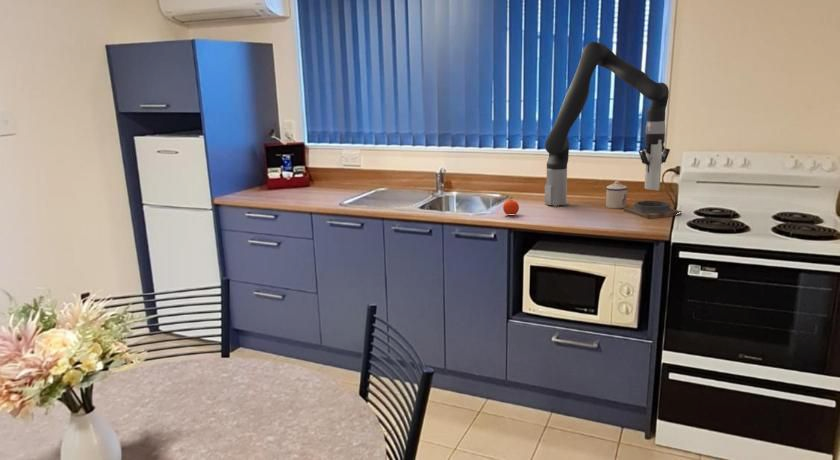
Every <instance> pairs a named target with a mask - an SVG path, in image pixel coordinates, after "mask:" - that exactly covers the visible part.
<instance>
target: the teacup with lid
mask: <svg viewBox="0 0 840 460" xmlns="http://www.w3.org/2000/svg"><path fill="white" fill-rule="evenodd" d="M605 189H606V195H605V196H606V197H605V199H606V200H605V206H606V207H607V208H608V209H624V208H625V207H627V193H628V192H627V191H628V187H627V185H625V184H622V183H620V181H619V180H616V181H614V183H611V184H610V185H607V186H606V187H605Z"/></svg>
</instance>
